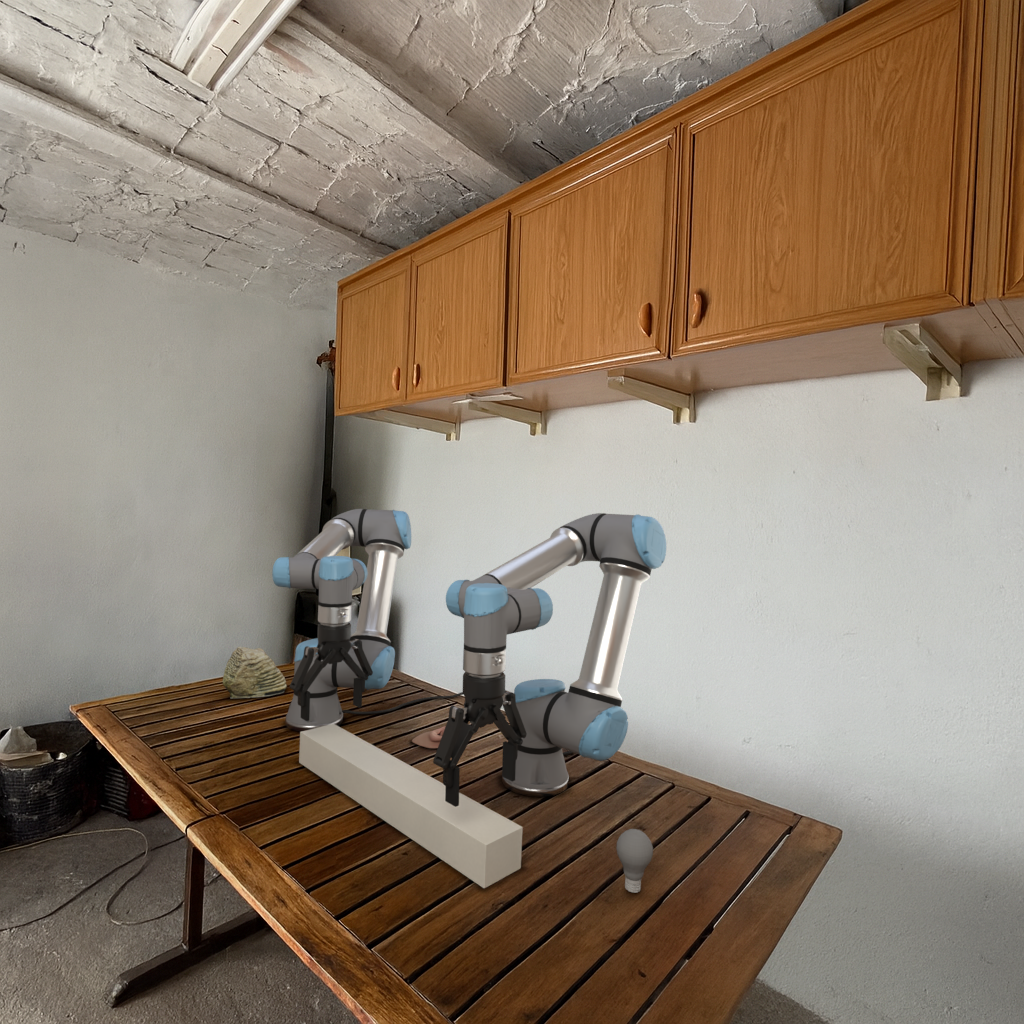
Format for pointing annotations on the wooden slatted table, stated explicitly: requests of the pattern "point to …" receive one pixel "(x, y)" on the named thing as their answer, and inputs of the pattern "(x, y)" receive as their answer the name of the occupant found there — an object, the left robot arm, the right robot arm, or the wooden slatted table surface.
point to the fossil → (252, 674)
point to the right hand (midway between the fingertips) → (481, 790)
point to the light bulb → (634, 857)
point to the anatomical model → (429, 738)
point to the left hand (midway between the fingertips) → (331, 712)
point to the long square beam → (415, 804)
